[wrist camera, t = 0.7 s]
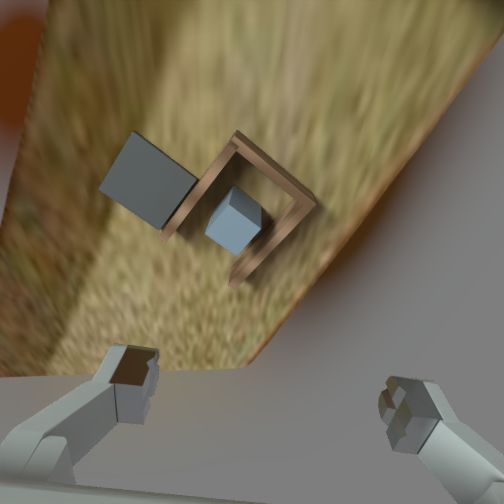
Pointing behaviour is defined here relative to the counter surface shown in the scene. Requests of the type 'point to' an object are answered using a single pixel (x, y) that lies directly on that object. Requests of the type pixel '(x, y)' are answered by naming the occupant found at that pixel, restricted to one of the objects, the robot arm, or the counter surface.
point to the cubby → (279, 226)
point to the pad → (147, 181)
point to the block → (235, 221)
